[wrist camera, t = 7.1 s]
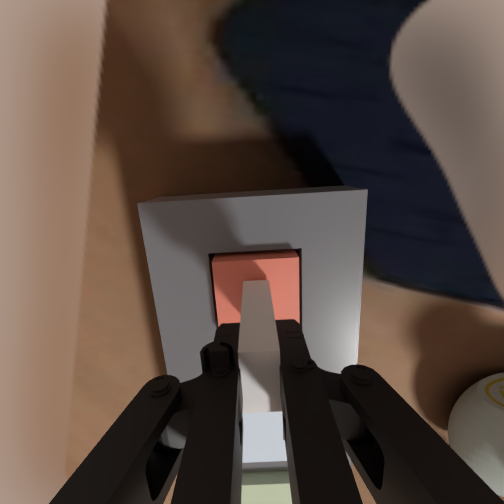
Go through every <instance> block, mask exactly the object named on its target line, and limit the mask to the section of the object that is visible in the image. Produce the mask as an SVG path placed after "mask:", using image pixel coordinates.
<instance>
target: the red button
mask: <svg viewBox="0 0 504 504" xmlns="http://www.w3.org/2000/svg"><path fill="white" fill-rule="evenodd" d="M212 270H213V279H214V289H215V298H216V307H217V317H218V326H220V325H221V324H222V323H240V317H241V304H242V291H243V281H254V280H269V284H270V290H271V297H272V303H273V309H274V316H275V320H283V319H295V320H296V321H297V322H298V323H299V324H300V312H299V257H298V255H297V253H296V251H295V249H279V250H262V251H244V252H226V253H215V256H214V258H213V260H212Z"/></svg>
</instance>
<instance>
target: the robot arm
mask: <svg viewBox="0 0 504 504" xmlns="http://www.w3.org/2000/svg"><path fill="white" fill-rule="evenodd" d="M200 358H201V365H202V374H201V375H200V376H198V377H196V378H194V379H191V380H188V381H185V382H182V383H180V381H179V379H178V378H177V377H175V376H172V375H162V376H158V377H155V378H154V379H152V380H150V381H148V382H147V383H146V384H145V385H144V386H143V387H142V389H141V390H140V391H139V392H138V394H137V395H136V396H135V397H134V399H133V400H132V401H131V402H130V403H129V405H128V406H127V407H126V408H125V410H124V411H123V412H122V413H121V415H120V416H119V417H118V418H117V420H116V421H115V422H114V423H113V425H112V426H111V427H110V428H109V430H108V431H107V432H106V433H105V435H104V436H103V437H102V438H101V440H100V441H99V442H98V443H97V445H96V446H95V447H94V448H93V450H92V451H91V452H90V453H89V454H88V456H87V457H86V458H85V459H84V461H83V462H82V463H81V464H80V466H79V467H78V468H77V469H76V471H75V472H74V473H73V474H72V476H71V477H70V478H69V479H68V481H67V482H66V483H65V484H64V486H63V487H62V488H61V489H60V491H59V492H58V493H57V494H56V496H55V497H54V498H53V499H52V500H51V502H50V503H49V504H163V503H164V501H165V498H166V496H167V494H168V492H169V490H170V488H171V486H172V483H173V481H174V479H175V477H176V475H177V473H178V475H177V479H176V484H175V488H174V492H173V496H172V500H171V504H241V492H242V458H243V413H259V412H280V411H282V418H283V440H285V448H286V456H287V464H288V473H289V481H290V490H291V498H292V504H363V503H362V500H361V497H360V494H359V491H358V488H357V485H356V482H355V479H354V475H353V472H352V469H351V466H350V463H349V460H348V457H347V454H348V456H349V457H350V459H351V461H352V462H353V464H354V466H355V468H356V469H357V471H358V473H359V474H360V476H361V478H362V479H363V481H364V483H365V485H366V486H367V488H368V490H369V491H370V493H371V495H372V496H373V498H374V500H375V502H376V503H377V504H504V501H503V500H502V499H501V498H500V497H499V496H498V495H497V494H496V493H495V492H494V491H493V490H492V489H491V488H490V487H489V486H488V485H487V484H486V483H485V482H484V481H483V480H482V479H481V478H480V477H479V476H478V475H477V474H476V473H475V472H474V471H473V470H472V469H471V468H470V467H469V466H468V465H467V464H466V462H465V461H464V460H463V459H462V458H461V457H460V456H459V455H458V454H457V453H456V452H455V451H454V450H453V449H452V448H451V447H450V446H449V445H448V444H447V443H446V442H445V441H444V440H443V439H442V438H441V437H440V436H439V435H438V434H437V433H436V432H435V431H434V430H433V429H432V428H431V427H430V426H429V425H428V424H427V423H426V422H425V421H424V420H423V419H422V418H421V417H420V416H419V414H418V413H417V412H416V411H415V410H414V409H413V408H412V407H411V406H410V405H409V404H408V403H407V402H406V401H405V400H404V399H403V398H402V397H401V396H400V395H399V394H398V393H397V392H396V391H395V390H394V389H393V388H392V387H391V386H390V385H389V384H388V383H387V382H386V381H385V380H384V379H383V378H382V377H381V376H380V375H379V374H378V373H377V372H376V371H374V370H373V369H371V368H369V367H367V366H364V365H358V364H356V365H349V366H346V367H344V368H343V370H342V371H341V374H339V373H333V372H329V371H325V370H323V369H321V368H319V367H318V366H317V364H316V363H315V361H314V360H312V359H311V357H310V353H309V350H308V347H307V344H306V341H305V338H304V334H303V331H302V328H301V325H300V324H299V323H298V322H297V321H296V320H295V319H283V320H275V316H274V309H273V303H272V297H271V290H270V284H269V280H254V281H243V291H242V304H241V317H240V323H222V324H221V325H220V326H219V327H218V328H217V329H216V332H215V338H214V341H213V342H211V343H208V344H207V345H205V346H204V347H203V348H202V349H201V351H200ZM346 452H347V454H346Z"/></svg>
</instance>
